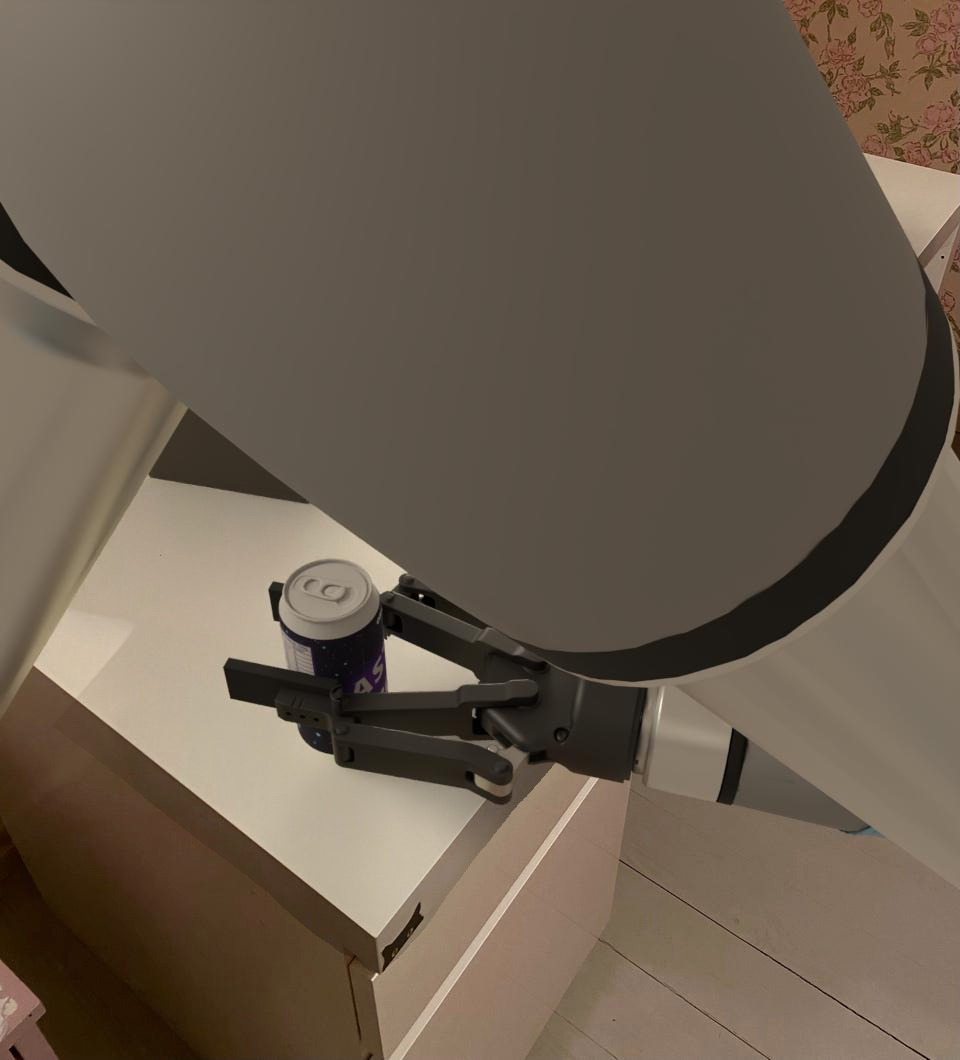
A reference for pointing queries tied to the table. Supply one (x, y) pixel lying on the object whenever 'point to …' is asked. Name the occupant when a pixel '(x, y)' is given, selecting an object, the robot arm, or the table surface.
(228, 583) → the table surface
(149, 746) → the table surface
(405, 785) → the table surface
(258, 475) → the cabinet
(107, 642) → the table surface
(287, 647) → the beverage can
